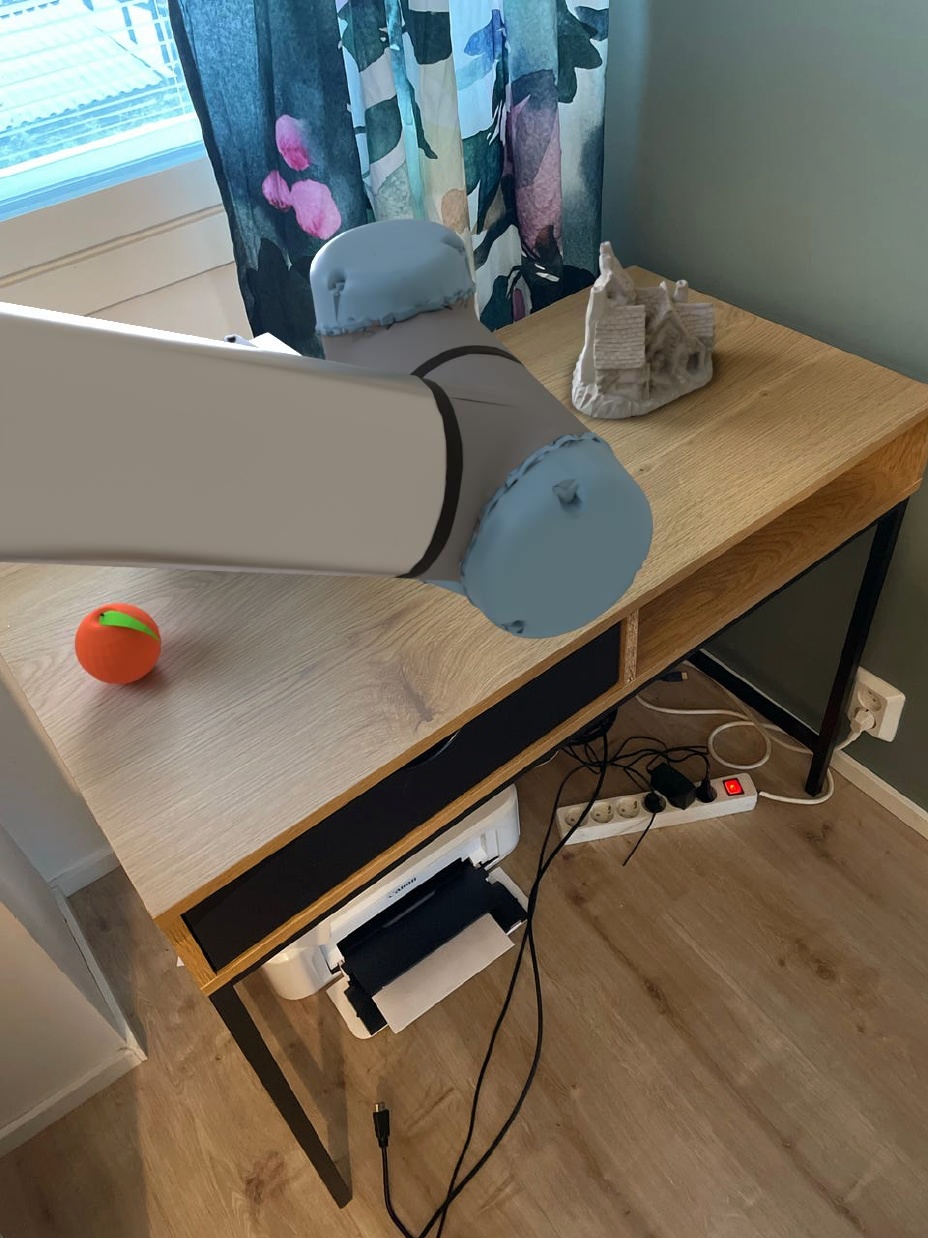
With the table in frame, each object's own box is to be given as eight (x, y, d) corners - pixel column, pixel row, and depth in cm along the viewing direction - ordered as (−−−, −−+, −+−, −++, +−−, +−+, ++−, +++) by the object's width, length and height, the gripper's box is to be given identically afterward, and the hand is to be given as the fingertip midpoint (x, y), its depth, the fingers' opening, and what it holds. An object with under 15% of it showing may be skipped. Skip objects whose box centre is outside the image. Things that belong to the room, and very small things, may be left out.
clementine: (196, 646, 80) (169, 589, 75) (160, 707, 76) (129, 651, 70) (119, 637, 82) (87, 581, 77) (79, 695, 78) (42, 639, 72)
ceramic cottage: (557, 413, 99) (564, 281, 89) (587, 343, 110) (596, 218, 100) (700, 433, 96) (725, 297, 85) (716, 358, 107) (740, 230, 96)
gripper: (205, 602, 54) (2, 485, 65) (423, 428, 64) (216, 352, 75) (162, 504, 48) (-51, 394, 60) (408, 331, 59) (187, 265, 70)
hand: (98, 371), depth 67 cm, fingers closed on die, 8 cm apart
